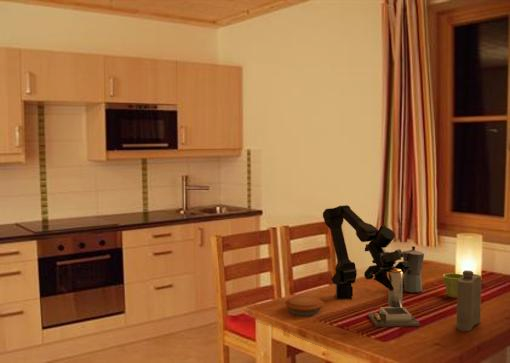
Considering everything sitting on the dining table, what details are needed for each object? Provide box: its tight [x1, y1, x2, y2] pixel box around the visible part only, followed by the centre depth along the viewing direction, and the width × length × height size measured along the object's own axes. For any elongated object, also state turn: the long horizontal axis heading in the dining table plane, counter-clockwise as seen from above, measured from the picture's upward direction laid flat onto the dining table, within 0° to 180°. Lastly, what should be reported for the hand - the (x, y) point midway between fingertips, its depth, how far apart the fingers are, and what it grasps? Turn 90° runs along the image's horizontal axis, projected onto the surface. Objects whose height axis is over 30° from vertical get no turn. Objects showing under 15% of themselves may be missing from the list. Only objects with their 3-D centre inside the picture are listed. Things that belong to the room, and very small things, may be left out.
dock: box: [368, 306, 421, 328], centre depth 204 cm, size 16×12×4 cm
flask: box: [456, 270, 482, 333], centre depth 198 cm, size 15×6×20 cm, turn 141°
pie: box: [284, 295, 325, 317], centre depth 216 cm, size 16×16×5 cm
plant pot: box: [442, 273, 463, 298], centre depth 235 cm, size 9×9×9 cm
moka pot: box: [402, 245, 425, 293], centre depth 242 cm, size 10×15×20 cm, turn 152°
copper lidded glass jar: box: [388, 268, 404, 308], centre depth 204 cm, size 5×5×14 cm
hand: (397, 289), depth 203 cm, fingers closed on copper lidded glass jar, 5 cm apart
